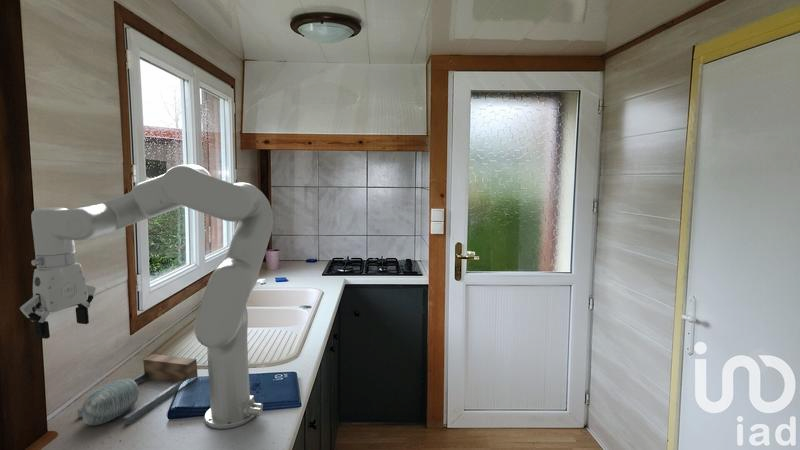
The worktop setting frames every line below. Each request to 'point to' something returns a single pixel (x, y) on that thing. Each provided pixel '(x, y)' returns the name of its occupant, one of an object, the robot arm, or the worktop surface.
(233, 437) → the worktop surface
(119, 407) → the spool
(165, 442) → the worktop surface
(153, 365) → the end stop
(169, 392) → the guide rails
